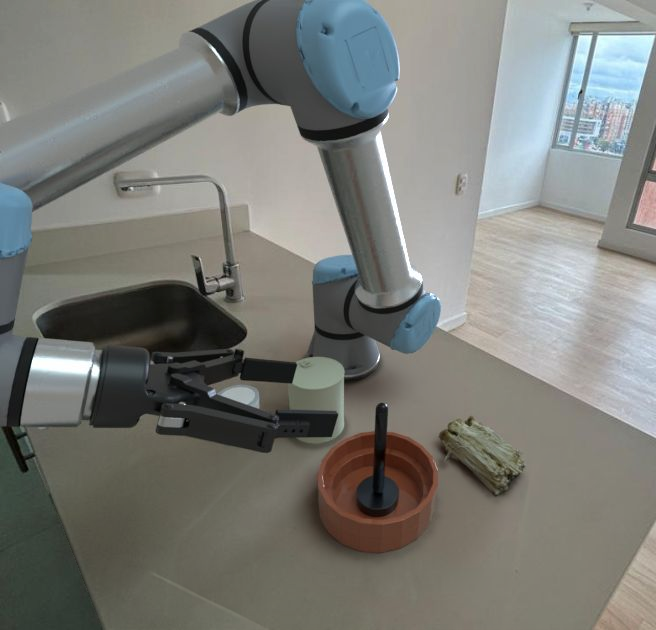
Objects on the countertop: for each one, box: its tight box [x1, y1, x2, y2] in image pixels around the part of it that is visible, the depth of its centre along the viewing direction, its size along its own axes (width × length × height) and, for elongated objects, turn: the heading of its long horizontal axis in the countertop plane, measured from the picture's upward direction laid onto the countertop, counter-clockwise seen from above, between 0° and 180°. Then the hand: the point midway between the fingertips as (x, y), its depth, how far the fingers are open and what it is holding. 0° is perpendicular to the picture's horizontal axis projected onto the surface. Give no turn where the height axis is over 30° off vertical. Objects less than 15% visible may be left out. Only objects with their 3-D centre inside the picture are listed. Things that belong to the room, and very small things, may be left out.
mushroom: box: [438, 415, 527, 496], centre depth 71 cm, size 14×10×5 cm, turn 42°
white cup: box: [217, 384, 260, 409], centre depth 73 cm, size 7×7×7 cm
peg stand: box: [356, 402, 399, 517], centre depth 60 cm, size 6×6×17 cm
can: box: [287, 357, 345, 444], centre depth 74 cm, size 9×9×12 cm
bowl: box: [317, 430, 439, 554], centre depth 63 cm, size 16×16×6 cm
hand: (312, 395), depth 53 cm, fingers open, 13 cm apart
